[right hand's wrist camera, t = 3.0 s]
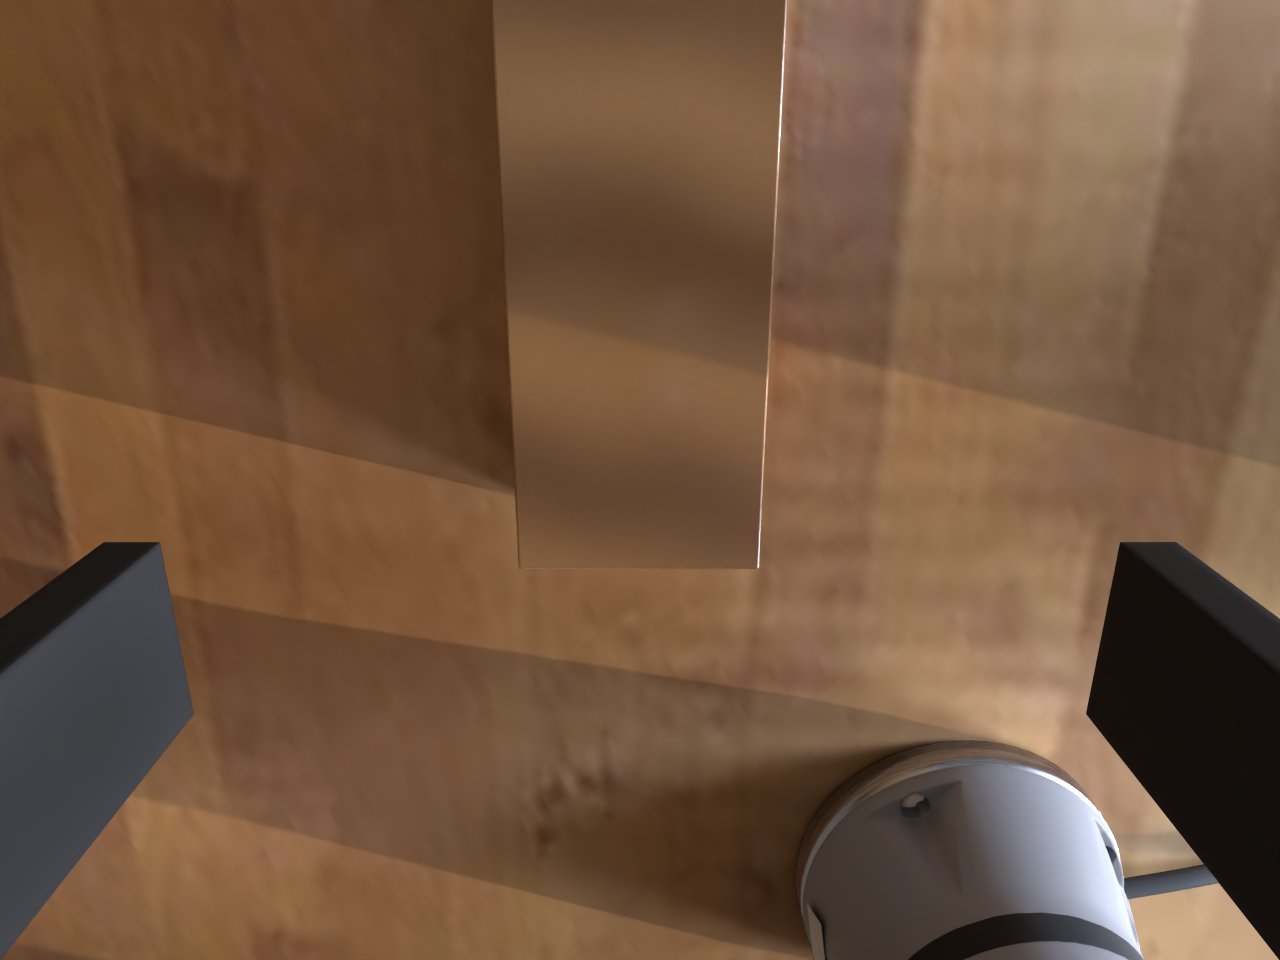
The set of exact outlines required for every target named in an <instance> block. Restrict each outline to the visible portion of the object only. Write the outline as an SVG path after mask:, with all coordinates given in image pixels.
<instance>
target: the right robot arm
mask: <svg viewBox="0 0 1280 960" xmlns="http://www.w3.org/2000/svg"><path fill="white" fill-rule="evenodd" d="M193 714H194V712H193V707H192V702H191V697H190V692H189V687H188V682H187V677H186V672H185V667H184V662H183V657H182V651H181V646H180V641H179V636H178V631H177V626H176V621H175V616H174V611H173V606H172V601H171V596H170V591H169V586H168V581H167V576H166V571H165V566H164V561H163V556H162V551H161V546H160V542H104V543H102V544H101V545H100V546H98V547H97V548H95V549H94V550H93V551H91V552H90V553H89V554H87V555H86V556H85V557H83V558H82V559H81V560H79V561H78V562H77V563H75V564H74V565H72V566H71V567H70V568H68V569H67V570H66V571H64V572H63V573H62V574H60V575H59V576H58V577H56V578H55V579H54V580H52V581H51V582H49V583H48V584H47V585H45V586H44V587H43V588H41V589H40V590H39V591H37V592H36V593H35V594H33V595H32V596H31V597H29V598H28V599H26V600H25V601H24V602H22V603H21V604H20V605H18V606H17V607H16V608H14V609H13V610H12V611H10V612H9V613H8V614H6V615H5V616H3V617H2V618H1V619H0V960H1V959H2V957H3V956H4V955H5V954H6V952H7V951H8V950H9V949H10V947H11V946H12V945H13V943H14V942H15V941H16V940H17V938H18V937H19V936H20V935H21V933H22V932H23V931H24V929H25V928H26V927H27V926H28V924H29V923H30V922H31V921H32V919H33V918H34V917H35V915H36V914H37V913H38V912H39V910H40V909H41V908H42V907H43V905H44V904H45V903H46V901H47V900H48V899H49V898H50V896H51V895H52V894H53V893H54V891H55V890H56V889H57V887H58V886H59V885H60V884H61V882H62V881H63V880H64V879H65V877H66V876H67V875H68V873H69V872H70V871H71V870H72V868H73V867H74V866H75V865H76V863H77V862H78V861H79V859H80V858H81V857H82V856H83V854H84V853H85V852H86V851H87V849H88V848H89V847H90V845H91V844H92V843H93V842H94V840H95V839H96V838H97V837H98V835H99V834H100V833H101V831H102V830H103V829H104V828H105V826H106V825H107V824H108V823H109V821H110V820H111V819H112V817H113V816H114V815H115V814H116V812H117V811H118V810H119V809H120V807H121V806H122V805H123V803H124V802H125V801H126V800H127V798H128V797H129V796H130V795H131V793H132V792H133V791H134V789H135V788H136V787H137V786H138V784H139V783H140V782H141V781H142V779H143V778H144V777H145V775H146V774H147V773H148V772H149V770H150V769H151V768H152V767H153V765H154V764H155V763H156V761H157V760H158V759H159V758H160V756H161V755H162V754H163V753H164V751H165V750H166V749H167V747H168V746H169V745H170V744H171V742H172V741H173V740H174V739H175V737H176V736H177V735H178V733H179V732H180V731H181V730H182V728H183V727H184V726H185V725H186V723H187V722H188V721H189V719H190V718H191V717H192V716H193ZM1086 714H1087V716H1088V717H1089V718H1090V719H1091V721H1092V722H1093V723H1094V725H1095V726H1096V727H1097V728H1098V730H1099V731H1100V732H1101V733H1102V735H1103V736H1104V737H1105V739H1106V740H1107V741H1108V742H1109V744H1110V745H1111V746H1112V747H1113V749H1114V750H1115V751H1116V753H1117V754H1118V755H1119V756H1120V758H1121V759H1122V760H1123V761H1124V763H1125V764H1126V765H1127V767H1128V768H1129V769H1130V770H1131V772H1132V773H1133V774H1134V775H1135V777H1136V778H1137V779H1138V781H1139V782H1140V783H1141V784H1142V786H1143V787H1144V788H1145V789H1146V791H1147V792H1148V793H1149V795H1150V796H1151V797H1152V798H1153V800H1154V801H1155V802H1156V803H1157V805H1158V806H1159V807H1160V809H1161V810H1162V811H1163V812H1164V814H1165V815H1166V816H1167V817H1168V819H1169V820H1170V821H1171V823H1172V824H1173V825H1174V826H1175V828H1176V829H1177V830H1178V831H1179V833H1180V834H1181V835H1182V837H1183V838H1184V839H1185V840H1186V842H1187V843H1188V844H1189V845H1190V847H1191V848H1192V849H1193V851H1194V852H1195V853H1196V854H1197V856H1198V857H1199V858H1200V859H1201V861H1202V862H1203V863H1204V865H1198V866H1193V867H1188V868H1182V869H1176V870H1171V871H1165V872H1159V873H1153V874H1147V875H1141V876H1135V877H1128V878H1123V871H1122V865H1121V861H1120V856H1119V851H1118V847H1117V845H1116V842H1115V839H1114V836H1113V834H1112V832H1111V830H1110V828H1109V826H1108V825H1107V823H1106V822H1105V820H1104V819H1103V817H1102V816H1101V814H1100V813H1099V811H1098V810H1097V808H1096V807H1095V806H1094V804H1093V803H1092V801H1091V800H1090V798H1089V797H1088V795H1087V794H1086V793H1085V791H1084V790H1083V789H1082V788H1081V787H1080V785H1079V784H1078V783H1077V782H1076V781H1075V780H1074V779H1073V778H1072V777H1071V776H1070V775H1069V774H1067V773H1066V772H1065V771H1064V770H1062V769H1061V768H1059V767H1058V766H1057V765H1055V764H1054V763H1052V762H1050V761H1048V760H1047V759H1045V758H1043V757H1041V756H1039V755H1036V754H1034V753H1032V752H1029V751H1026V750H1023V749H1020V748H1018V747H1014V746H1009V745H1005V744H1000V743H994V742H987V741H950V742H940V743H934V744H929V745H924V746H920V747H916V748H912V749H909V750H906V751H903V752H900V753H897V754H895V755H892V756H890V757H887V758H885V759H883V760H881V761H879V762H877V763H875V764H873V765H871V766H870V767H868V768H866V769H864V770H863V771H861V772H860V773H858V774H857V775H855V776H854V777H852V778H851V779H850V780H849V781H847V782H846V783H845V784H844V785H842V786H841V787H840V788H839V789H838V790H837V791H836V792H835V793H834V794H833V795H832V796H831V797H830V798H829V799H828V800H827V801H826V802H825V803H824V805H823V806H822V807H821V808H820V810H819V811H818V813H817V814H816V815H815V817H814V818H813V820H812V822H811V823H810V825H809V827H808V829H807V831H806V833H805V836H804V838H803V840H802V843H801V846H800V850H799V853H798V858H797V865H796V888H797V894H798V899H799V903H800V908H801V913H802V918H803V922H804V927H805V930H806V933H807V936H808V939H809V941H810V943H811V945H812V951H813V960H1144V958H1143V957H1142V955H1141V952H1140V947H1139V943H1138V938H1137V934H1136V929H1135V925H1134V920H1133V916H1132V912H1131V909H1130V905H1129V902H1128V899H1132V898H1138V897H1144V896H1150V895H1156V894H1162V893H1168V892H1174V891H1179V890H1185V889H1190V888H1196V887H1201V886H1206V885H1211V884H1216V883H1219V884H1220V885H1221V886H1222V887H1223V889H1224V890H1225V891H1226V893H1227V894H1228V895H1229V896H1230V898H1231V899H1232V900H1233V901H1234V903H1235V904H1236V905H1237V907H1238V908H1239V909H1240V910H1241V912H1242V913H1243V914H1244V915H1245V917H1246V918H1247V919H1248V921H1249V922H1250V923H1251V924H1252V926H1253V927H1254V928H1255V929H1256V931H1257V932H1258V933H1259V935H1260V936H1261V937H1262V938H1263V940H1264V941H1265V942H1266V943H1267V945H1268V946H1269V947H1270V949H1271V950H1272V951H1273V952H1274V954H1275V955H1276V956H1277V957H1278V959H1279V960H1280V619H1279V618H1278V617H1277V616H1275V615H1274V614H1272V613H1271V612H1270V611H1268V610H1267V609H1266V608H1264V607H1263V606H1262V605H1260V604H1259V603H1258V602H1256V601H1255V600H1254V599H1252V598H1251V597H1249V596H1248V595H1247V594H1245V593H1244V592H1243V591H1241V590H1240V589H1239V588H1237V587H1236V586H1235V585H1233V584H1232V583H1231V582H1229V581H1228V580H1226V579H1225V578H1224V577H1222V576H1221V575H1220V574H1218V573H1217V572H1216V571H1214V570H1213V569H1212V568H1210V567H1209V566H1208V565H1206V564H1205V563H1203V562H1202V561H1201V560H1199V559H1198V558H1197V557H1195V556H1194V555H1193V554H1191V553H1190V552H1189V551H1187V550H1186V549H1185V548H1183V547H1182V546H1180V545H1179V544H1178V543H1176V542H1120V546H1119V551H1118V556H1117V561H1116V566H1115V571H1114V576H1113V581H1112V586H1111V591H1110V596H1109V601H1108V606H1107V611H1106V616H1105V621H1104V626H1103V631H1102V636H1101V641H1100V646H1099V651H1098V656H1097V662H1096V667H1095V672H1094V677H1093V682H1092V687H1091V692H1090V697H1089V702H1088V707H1087V712H1086Z"/></svg>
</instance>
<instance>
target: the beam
mask: <svg viewBox="0 0 1280 960" xmlns="http://www.w3.org/2000/svg"><path fill="white" fill-rule="evenodd" d="M491 16H492V36H493V56H494V77H495V97H496V117H497V137H498V158H499V178H500V198H501V218H502V239H503V259H504V279H505V299H506V320H507V340H508V360H509V380H510V401H511V421H512V441H513V461H514V482H515V502H516V522H517V542H518V563H519V568H520V569H758V568H759V555H760V535H761V515H762V495H763V475H764V455H765V435H766V415H767V395H768V375H769V356H770V336H771V316H772V296H773V276H774V256H775V236H776V216H777V196H778V176H779V156H780V136H781V116H782V96H783V76H784V56H785V37H786V17H787V0H491Z"/></svg>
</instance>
